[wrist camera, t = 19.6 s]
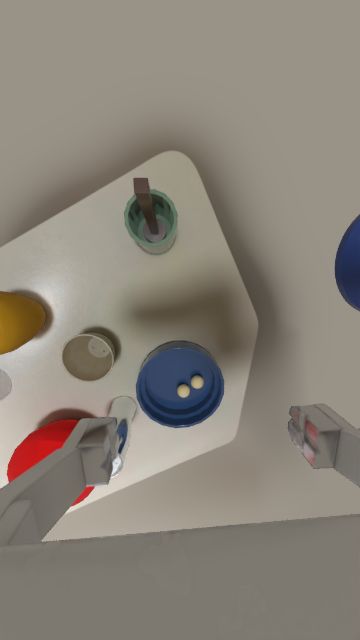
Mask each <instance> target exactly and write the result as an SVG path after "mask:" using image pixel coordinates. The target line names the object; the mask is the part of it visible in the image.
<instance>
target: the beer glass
mask: <svg viewBox="0 0 360 640" xmlns="http://www.w3.org/2000/svg"><path fill="white" fill-rule="evenodd" d="M135 411H136V404H135V402H134V401H133V400H132V399H131V398H129V397H126V396H122V397H118V398H116V399H115V400H114V401H113V402H112V405H111V410H110V413H109V415H108V416H107V417H116V418H117V423H118V425H117V428H116V431H117V432H118V433H119V448H118V453H117V457H116V459H115V460H114V461H113V470H112V474H111V477H110V478H112V477H114V476H116V475H117V474H118V473H119V472H120V471H121V469H122V467H123V463H124V460H125V458H126V455H127V451H128V448H129V443H130V437H131V420H132V417H133V415H134V414H135Z"/></svg>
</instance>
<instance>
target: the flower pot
mask: <svg viewBox="0 0 360 640" xmlns="http://www.w3.org/2000/svg"><path fill="white" fill-rule="evenodd" d="M100 341H101V342H100ZM93 348H94V349H93ZM104 350H105V351H104ZM114 360H115V350H114V346H113V344H112V342H111V341H110V340H109V339H108V338H107V337H106V336H104V335H102V334H98V333H84V334H79V335H77V336H74V337H72V338H71V339H69V340H68V341H67V342H66V343H65V344H64V346H63V348H62V351H61V362H62V365H63V367H64V369H65V370H66V372H67V373H68V374H69V375H70V376H72V377H73V378H75V379H77V380H79V381H83V382H96V381H99V380H101V379H103V378H105V377H106V376H107V375H108V374H109V373H110V371H111V369H112V367H113V364H114Z"/></svg>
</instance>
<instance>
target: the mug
mask: <svg viewBox="0 0 360 640" xmlns="http://www.w3.org/2000/svg"><path fill="white" fill-rule="evenodd" d="M11 387H12V384H11V380H10V378H9V377H8V375H7V374H6V373H4V372H3V371H1V370H0V400H1V399H3V398H4V397H6V396H7V395H8V394H9V393H10V391H11Z"/></svg>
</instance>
